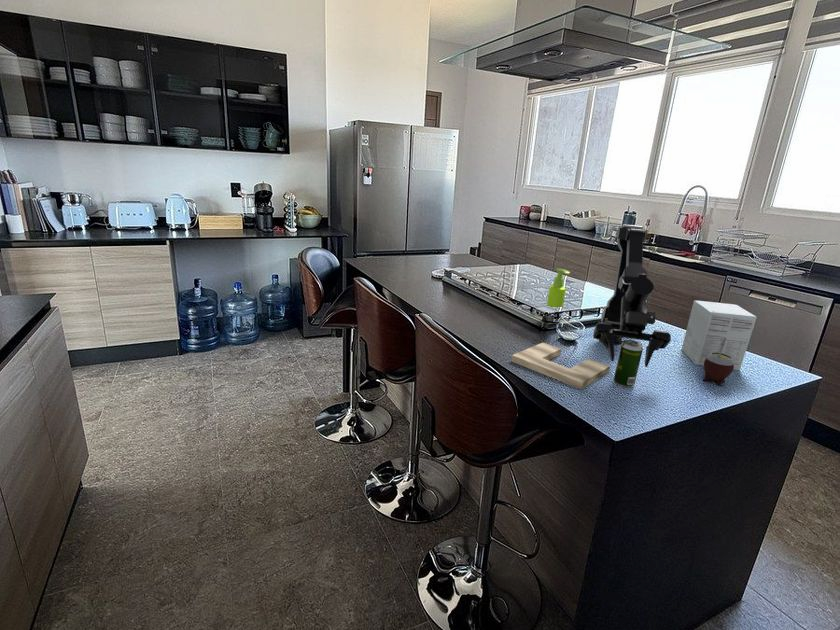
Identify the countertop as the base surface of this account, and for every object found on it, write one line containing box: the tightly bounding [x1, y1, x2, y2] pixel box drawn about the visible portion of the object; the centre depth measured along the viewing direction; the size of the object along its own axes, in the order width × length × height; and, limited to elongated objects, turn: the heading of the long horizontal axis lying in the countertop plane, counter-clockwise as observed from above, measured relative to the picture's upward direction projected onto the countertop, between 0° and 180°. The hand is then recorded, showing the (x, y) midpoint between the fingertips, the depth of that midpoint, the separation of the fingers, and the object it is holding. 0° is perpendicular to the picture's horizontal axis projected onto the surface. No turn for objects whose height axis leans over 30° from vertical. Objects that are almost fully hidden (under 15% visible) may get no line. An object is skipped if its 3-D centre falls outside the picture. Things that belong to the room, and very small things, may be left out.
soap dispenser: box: [546, 268, 571, 308], centre depth 171 cm, size 6×7×20 cm
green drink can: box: [613, 339, 644, 389], centre depth 124 cm, size 5×5×12 cm
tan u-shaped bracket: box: [511, 342, 611, 390], centre depth 134 cm, size 17×22×2 cm
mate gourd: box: [702, 338, 734, 387], centre depth 129 cm, size 8×8×15 cm
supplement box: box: [680, 300, 758, 371], centre depth 144 cm, size 13×13×18 cm
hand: (629, 363), depth 123 cm, fingers open, 8 cm apart
